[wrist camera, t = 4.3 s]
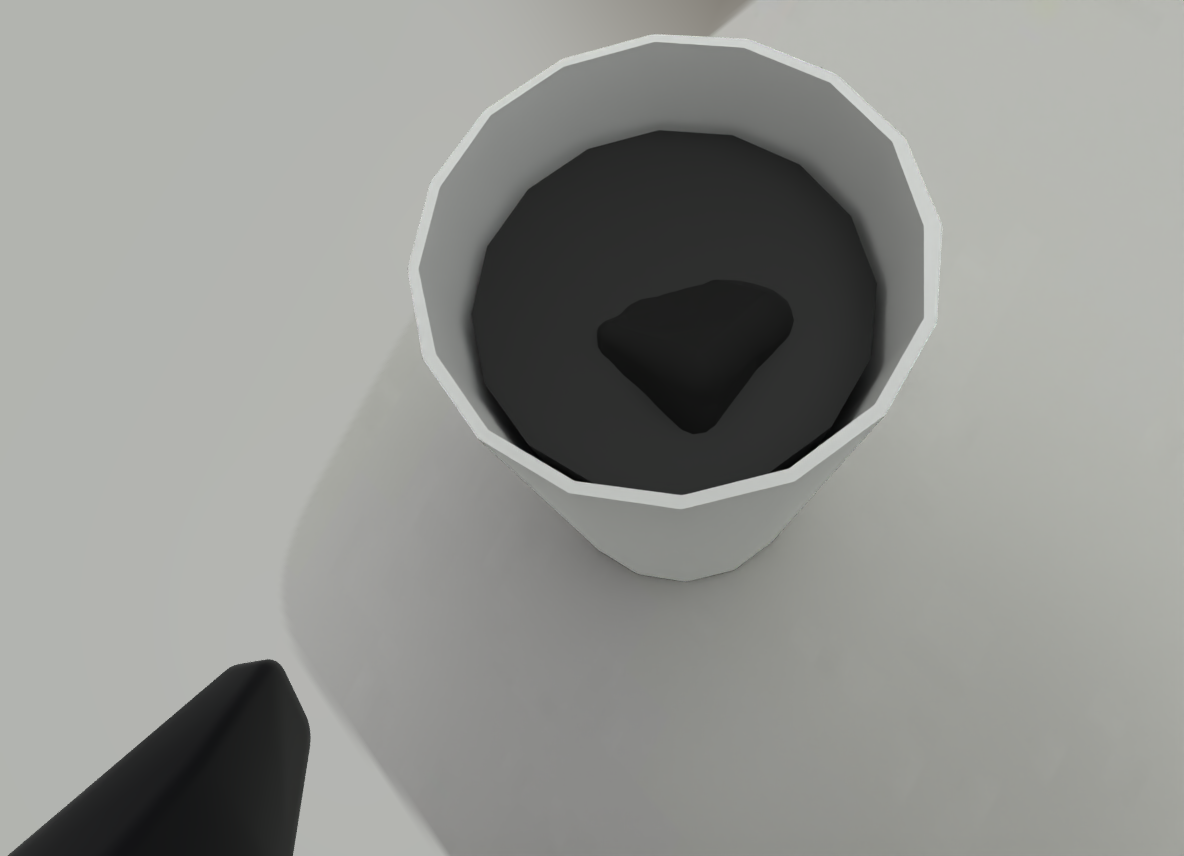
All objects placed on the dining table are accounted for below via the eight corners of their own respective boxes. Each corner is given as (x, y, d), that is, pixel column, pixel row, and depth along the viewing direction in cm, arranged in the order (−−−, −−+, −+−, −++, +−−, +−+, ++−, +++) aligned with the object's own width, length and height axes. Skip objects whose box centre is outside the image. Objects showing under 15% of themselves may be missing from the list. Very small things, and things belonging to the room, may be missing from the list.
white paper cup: (879, 449, 19) (1063, 215, 10) (690, 664, 18) (688, 636, 9) (668, 285, 21) (648, -44, 12) (487, 470, 20) (305, 277, 11)
